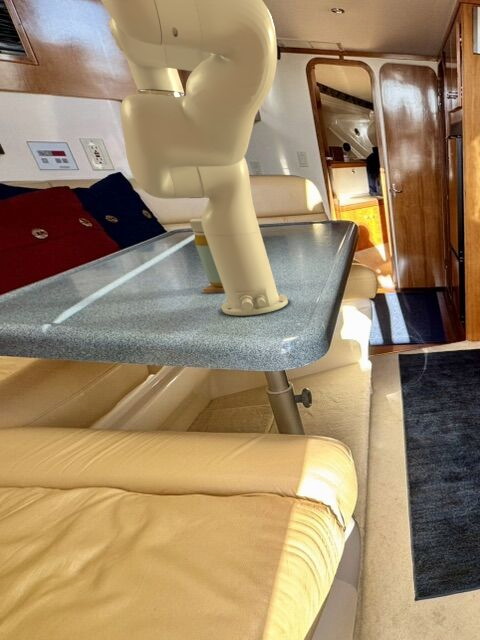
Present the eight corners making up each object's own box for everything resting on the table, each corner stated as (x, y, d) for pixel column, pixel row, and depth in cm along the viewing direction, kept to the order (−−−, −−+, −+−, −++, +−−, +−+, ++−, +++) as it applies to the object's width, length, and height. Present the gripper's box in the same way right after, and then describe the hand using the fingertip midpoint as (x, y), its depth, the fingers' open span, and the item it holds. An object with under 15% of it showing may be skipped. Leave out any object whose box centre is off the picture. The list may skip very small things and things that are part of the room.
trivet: (251, 283, 103) (250, 279, 103) (238, 292, 97) (237, 287, 96) (219, 284, 102) (218, 280, 102) (204, 293, 96) (202, 288, 95)
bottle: (249, 280, 102) (230, 217, 94) (230, 288, 96) (207, 221, 88) (224, 279, 102) (202, 217, 95) (203, 287, 96) (178, 221, 89)
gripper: (185, 100, 76) (216, 198, 84) (191, 109, 89) (218, 193, 97) (134, 97, 73) (173, 199, 81) (148, 107, 85) (180, 195, 94)
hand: (197, 196), depth 89 cm, fingers open, 9 cm apart
